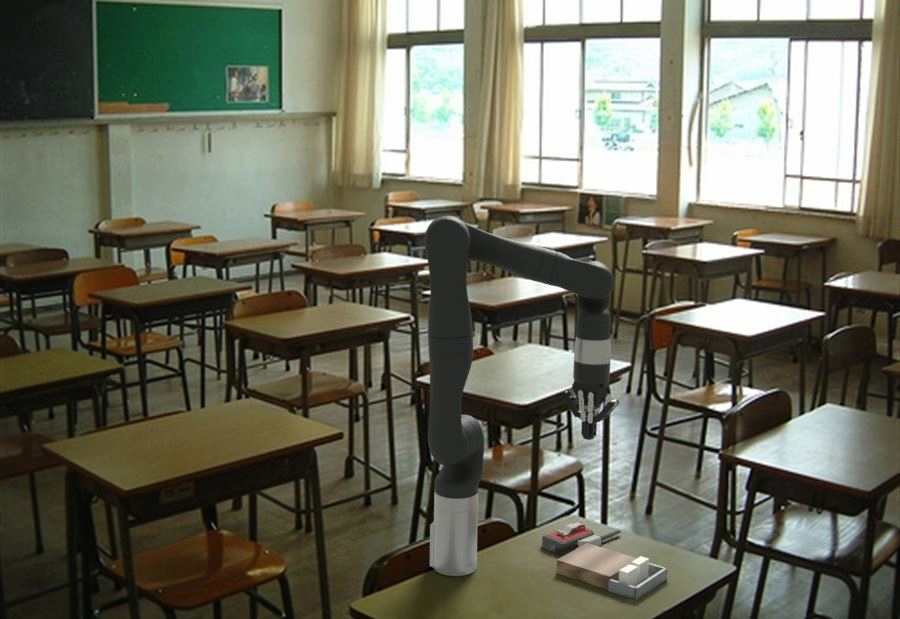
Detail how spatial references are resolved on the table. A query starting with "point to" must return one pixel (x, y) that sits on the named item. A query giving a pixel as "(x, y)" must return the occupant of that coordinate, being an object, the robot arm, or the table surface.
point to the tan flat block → (593, 565)
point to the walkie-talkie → (573, 538)
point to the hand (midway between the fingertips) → (588, 438)
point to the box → (640, 583)
